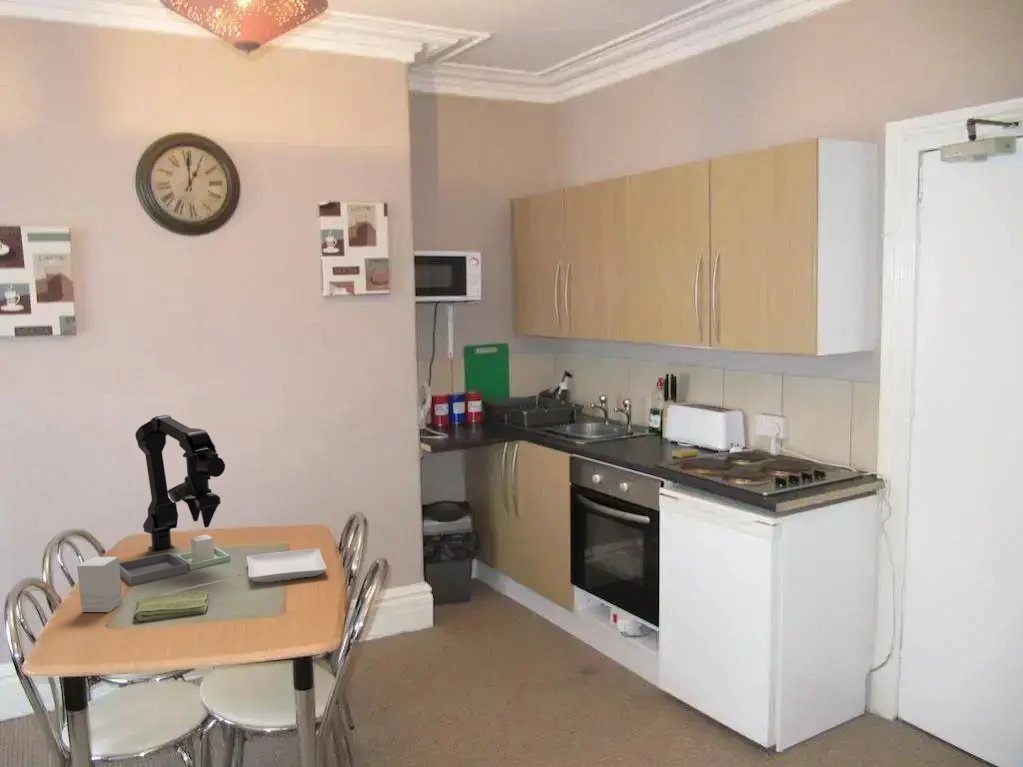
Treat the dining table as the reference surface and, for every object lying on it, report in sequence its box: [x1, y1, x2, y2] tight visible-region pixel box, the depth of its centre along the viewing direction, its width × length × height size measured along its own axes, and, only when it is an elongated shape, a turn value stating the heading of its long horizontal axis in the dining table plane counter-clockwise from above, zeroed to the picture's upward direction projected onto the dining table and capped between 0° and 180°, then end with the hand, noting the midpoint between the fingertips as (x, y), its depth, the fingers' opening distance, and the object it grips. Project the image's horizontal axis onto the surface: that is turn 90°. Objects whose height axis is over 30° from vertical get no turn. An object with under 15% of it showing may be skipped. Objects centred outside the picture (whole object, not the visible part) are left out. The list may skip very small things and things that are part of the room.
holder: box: [175, 546, 232, 571], centre depth 257 cm, size 12×12×2 cm
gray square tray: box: [119, 551, 189, 586], centre depth 247 cm, size 16×16×3 cm
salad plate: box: [246, 548, 327, 583], centre depth 247 cm, size 21×21×3 cm
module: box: [190, 534, 215, 562], centre depth 257 cm, size 5×5×7 cm
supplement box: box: [76, 556, 123, 613], centre depth 221 cm, size 7×7×13 cm
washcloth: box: [132, 590, 209, 623], centre depth 219 cm, size 13×18×3 cm
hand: (201, 524), depth 256 cm, fingers open, 9 cm apart
